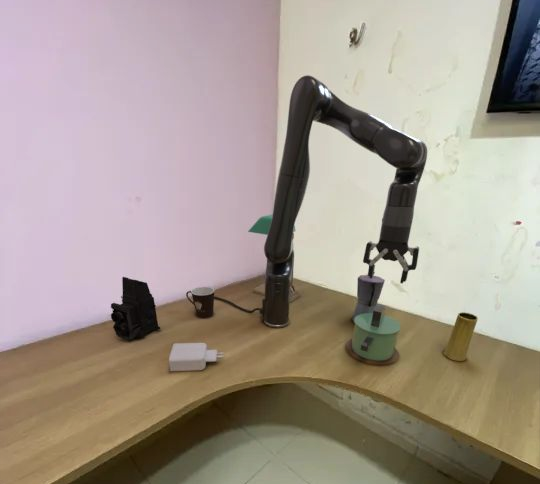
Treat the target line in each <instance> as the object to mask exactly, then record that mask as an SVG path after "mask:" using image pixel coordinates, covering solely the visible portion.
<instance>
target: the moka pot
mask: <svg viewBox="0 0 540 484" xmlns="http://www.w3.org/2000/svg"><path fill="white" fill-rule="evenodd" d="M375 273H376V271H374V275H373V278H372V279H371V278H370V276H368V273H367V274H361V275H359V276H357V284H356V285H357V292H356V294H357V295H356V297H357V302H356V305H355V308H354V311H353V313H352V314H353V315H352V318H351V319H352V322H353V323H354V319H355V317H356V316H358V315H360V314H364V313H373V311H374V309H375V308H376V307H377V306H378V301H379V299H380V297H381V294H382V291H383V288H384V284H385V281H386V280H385V279H384V278H382V277H381V276H377V275H375Z"/></svg>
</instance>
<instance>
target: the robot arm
mask: <svg viewBox="0 0 540 484" xmlns="http://www.w3.org/2000/svg"><path fill="white" fill-rule="evenodd" d="M313 122H315V123H319V124H322V125H326V126H328V127H331V128H333V129H335V130H337V131H339V132H340V133H341V134H343V135H344V136H346V137H347V138H348V139H350V140H351V141H353V142H354V143H355V144H357V145H359V147H362V148H363V149H364V150H365V149H366V151H369V152H370V153H373V154H375V155H377V156H378V157H379V158H381V159H382V160H383V161H385V162H386V163H387V164H389V165H390V166H392V167H393V168H395V169H396V170H395V174H394V178H393V181H392V182H391V183H390V184H389V187H388V190H387V197H386V202H385V208H384V210H383V214H382V218H381V225H380V232H379V238H378V242H373V241H372V240H370V241H368V242H367V243H366V245H365V250H364V255H363V259H362V262H363V264H367V265H368V271H367V274H368V276H370V278H371V279H372V278H373V275H374V276H375V273H374V272H375V268H376V263H377V262H378V261H380V260H381V259H383V260H384V261H391V262H397V261H398V263H399V265H400V266H401V268H402V272H401V278H400V282H399V283H400V284H404V283H406V281H407V279H408V275H409V271H415V270H416V269H417V266H418V259H419V253H420V247H419V246H415V247H413V246H409V239H410V235H411V230H412V225H413V220H414V216H415V215H414V214H415V206H416V201H417V195H418V189H419V185H420V183H421V179H422V177H423V173H424V170H425V167H426V164H427V159H428V147H427V145H426V143H425V142H424V141H423V140H421V139H418V138H415V137H413V136H410V135H408V134H406V133H404V132H402V131H399V130H397V129H396V128H395V127H394V126H393V125H392V124H390V123H388V122H386V121H385V120H383V119H381V118H379V117H377V116H375V115H373V114H371V113H369V112H366V111H364V110H361V109H359V108H356V107H354V106H352V105H349V104H348V103H346V102H344V101H343V100H342V99H340V98H339V97H338V96H337V95H336V94H335V93H334V92H332V91H331V90H330V89H329V88H328V86H327V85H326V84H324V83H323V82H322V81H320V80H319V79H317V78H316V77H315V76H312V75H308V74H307V75H303V76H301V77H300V78H299V79H298V80H297V81H296V82H295V83H294V85H293V88H292V90H291V94H290V98H289V104H288V115H287V124H286V133H285V138H284V139H285V140H284V144H283V151H282V155H281V162H280V166H279V171H278V176H277V181H276V186H275V193H274V200H273V206H272V207H273V209H272V214H273V216H272V221H271V225H270V229H269V232H268V235H267V236H266V239H265V242H264V245H263V253H264V256H265V258H266V266H265V270H264V284H265V295H264V297H263V298H262V300H261V302H262V303H261V307H255V308H253V309H252V310H249V309H246V308H243V307H242V306H240V305H237V304H235V303H234V302H232V301H231V300H228V299H225V298H222V297H219V296H215V295H214V299H215V300H220V301H223V302H226V303H228V304H230V305H232V306H234V307H235V308H237V309H239V310H241V311H243V312H246V313H251V314H252V313H254V312H257V311H259V315H261V322H262V323H264V324H265V326H268V327H270V328H279V329H280V328H284V327H286V326H288V325H289V323H290V313H291V311H290V308H291V307H290V305H291V304H290V303H291V302H290V288H291V273H292V264H293V250H294V246H295V245H294V239H293V240H292V235H293V229H294V225H295V223H296V220H297V218H298V215H299V212H300V211H301V208H302V205H303V203H304V200H305V197H306V196H305V195H306V193H307V188H308V184H309V180H310V176H311V175H310V174H311V160H310V159H311V157H310V145H309V144H310V136H311V131H312V126H313ZM374 249H376V250H377V253H378V254H377V255H375V256H374V258H372V259H371V258H370V257H371V252H372V251H373V250H374ZM408 252H409V254H410V256H412V259H411V264H409V262H408V261H407V259H406V257H405V255H406V254H407V253H408Z"/></svg>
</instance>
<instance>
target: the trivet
mask: <svg viewBox="0 0 540 484" xmlns="http://www.w3.org/2000/svg"><path fill="white" fill-rule="evenodd" d="M352 340H353V338H352V339H351V340H349V341H348V342H347V344H346V352H347V353H348V354H349V356H350V357H352V358H353V359H354V360H357V361H358V362H361V363H363V364H366V365H371V366H377V367H378V366H379V367H380V366H381V367H384V366H389V365H392V364H394V363H396V362H397V361H398V359H399V352H398V350H397V348H395V350H394V354H393V356H392V357H391V358H390V359H387V360H382V361H377V360H370V359H366V358H363V357H361V356H359V355H358V354H356V353H355V352H354V351H353V349H352Z"/></svg>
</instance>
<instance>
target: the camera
mask: <svg viewBox="0 0 540 484" xmlns="http://www.w3.org/2000/svg"><path fill="white" fill-rule="evenodd" d="M121 281H122V286H121V287H122V295H121V296H120V298H121V303H116V302H112V303H110V309H112V313H111V314H110V318H111V320H112V322H113V323H114V324H113V327H112V328H113V330H114V331H115V335H116V336H117V337H119V338H122V339H124V340H129V341H131V340H133V339H136V340H139V339H140V338H143V337H145V336H146V335H147V334H148V333H150V332H152V331H158V330H161V326H159V323H158V316H157V309H156V306H157V305H156V304H155V298H154V296H153V294H152V293H151V290H150V289H149V284H148V282H145V281H141V280H138V279H133V278H129V277H126V276H122V279H121Z"/></svg>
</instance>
